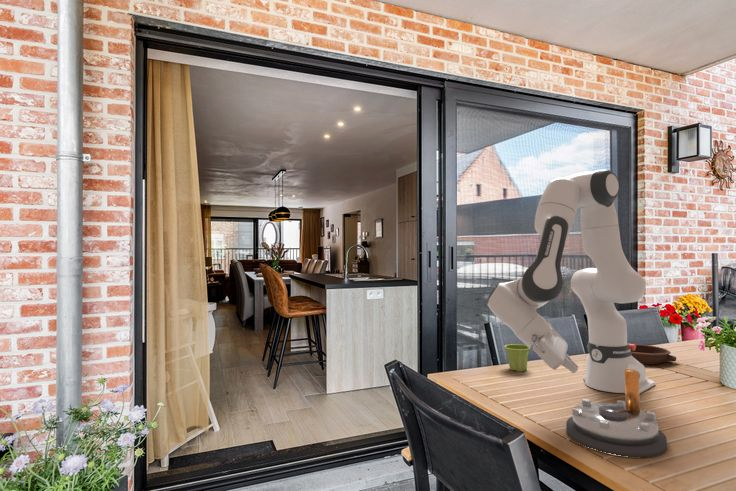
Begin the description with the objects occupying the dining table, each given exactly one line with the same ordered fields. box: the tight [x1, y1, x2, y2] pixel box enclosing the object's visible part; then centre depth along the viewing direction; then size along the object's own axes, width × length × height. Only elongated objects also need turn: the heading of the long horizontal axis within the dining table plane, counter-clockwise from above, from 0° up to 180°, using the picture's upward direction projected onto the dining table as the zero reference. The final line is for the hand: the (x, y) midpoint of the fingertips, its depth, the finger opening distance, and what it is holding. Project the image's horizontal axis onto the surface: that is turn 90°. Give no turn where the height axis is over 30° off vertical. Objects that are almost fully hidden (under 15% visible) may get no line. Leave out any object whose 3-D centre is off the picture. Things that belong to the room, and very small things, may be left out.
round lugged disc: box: [571, 369, 659, 445], centre depth 102 cm, size 18×18×13 cm
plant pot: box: [504, 343, 531, 372], centre depth 161 cm, size 9×9×9 cm
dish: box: [631, 344, 677, 365], centre depth 168 cm, size 18×22×5 cm
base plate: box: [565, 415, 668, 458], centre depth 102 cm, size 21×21×2 cm
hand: (576, 370), depth 112 cm, fingers closed
